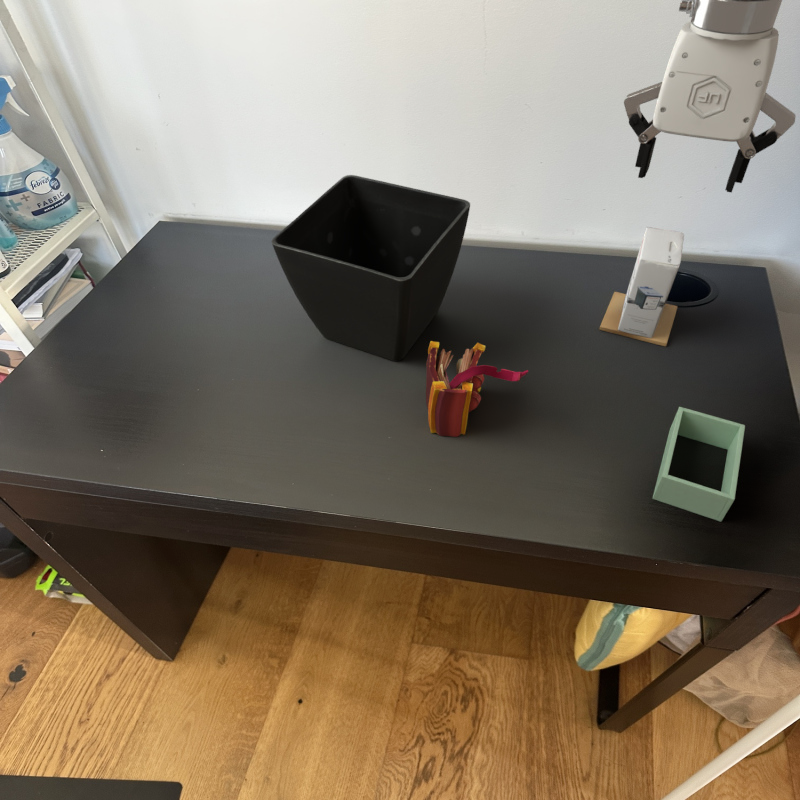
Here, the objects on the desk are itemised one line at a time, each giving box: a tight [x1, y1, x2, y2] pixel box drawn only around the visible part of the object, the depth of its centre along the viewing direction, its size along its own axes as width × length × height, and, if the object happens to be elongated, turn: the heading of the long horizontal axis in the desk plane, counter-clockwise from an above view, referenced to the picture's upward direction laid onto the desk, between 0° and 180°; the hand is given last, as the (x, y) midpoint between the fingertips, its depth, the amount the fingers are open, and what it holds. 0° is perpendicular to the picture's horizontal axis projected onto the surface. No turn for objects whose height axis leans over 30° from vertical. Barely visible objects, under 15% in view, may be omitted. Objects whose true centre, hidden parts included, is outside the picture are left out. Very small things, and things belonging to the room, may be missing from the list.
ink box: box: [618, 226, 685, 338], centre depth 84 cm, size 9×5×12 cm, turn 159°
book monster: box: [425, 340, 529, 438], centre depth 73 cm, size 11×9×12 cm
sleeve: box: [652, 406, 746, 522], centre depth 68 cm, size 7×11×4 cm, turn 154°
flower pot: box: [271, 174, 471, 362], centre depth 84 cm, size 19×19×17 cm
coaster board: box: [599, 291, 679, 347], centre depth 89 cm, size 9×9×1 cm
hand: (685, 180), depth 73 cm, fingers open, 9 cm apart
